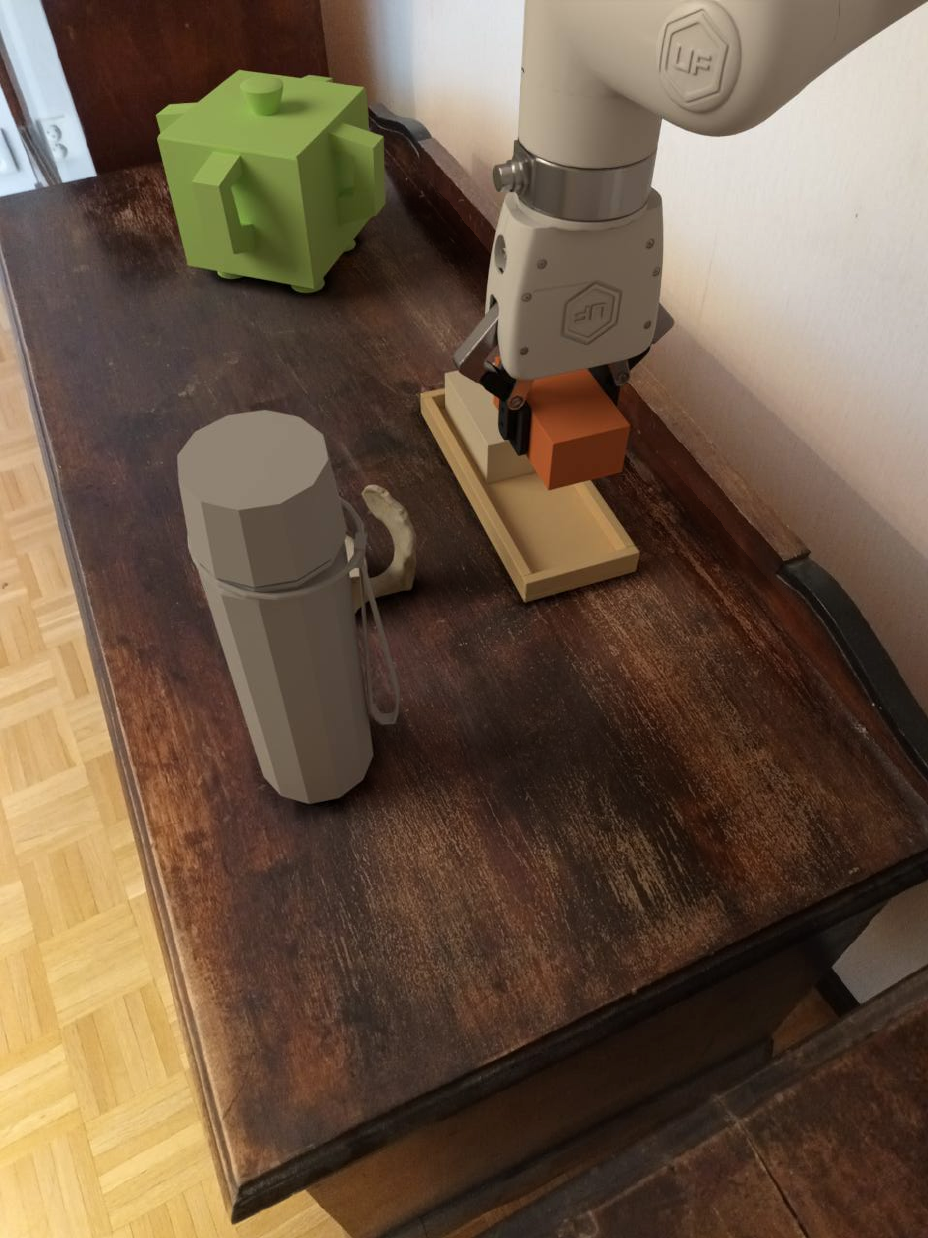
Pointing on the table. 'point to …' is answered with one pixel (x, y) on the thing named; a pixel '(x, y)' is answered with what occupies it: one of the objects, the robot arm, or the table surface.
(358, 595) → the bone
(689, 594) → the table surface
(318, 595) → the water bottle
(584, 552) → the wooden tray
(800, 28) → the robot arm
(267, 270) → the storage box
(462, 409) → the cream rectangular block
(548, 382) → the orange angular block
